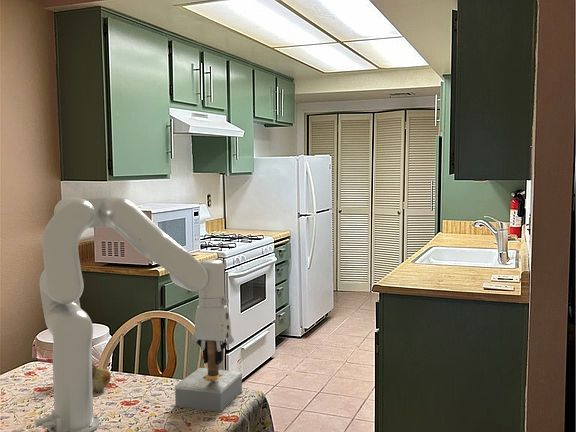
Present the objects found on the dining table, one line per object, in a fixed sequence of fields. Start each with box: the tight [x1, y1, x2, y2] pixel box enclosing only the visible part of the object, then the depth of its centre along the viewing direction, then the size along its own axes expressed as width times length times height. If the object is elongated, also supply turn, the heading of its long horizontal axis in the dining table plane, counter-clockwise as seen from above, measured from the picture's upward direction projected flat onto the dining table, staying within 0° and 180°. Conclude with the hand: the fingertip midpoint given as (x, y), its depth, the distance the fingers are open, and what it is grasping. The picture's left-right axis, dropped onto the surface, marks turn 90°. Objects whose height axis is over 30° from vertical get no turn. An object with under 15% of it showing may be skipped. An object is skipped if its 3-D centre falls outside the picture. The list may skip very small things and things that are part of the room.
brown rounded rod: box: [207, 340, 220, 376], centre depth 174 cm, size 3×3×12 cm
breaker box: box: [174, 367, 243, 413], centre depth 172 cm, size 16×14×6 cm
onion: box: [92, 364, 112, 393], centre depth 179 cm, size 8×8×8 cm
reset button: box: [206, 373, 219, 380], centre depth 174 cm, size 4×4×4 cm
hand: (213, 362), depth 174 cm, fingers closed on brown rounded rod, 3 cm apart
